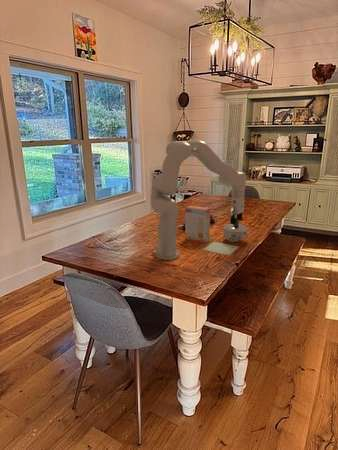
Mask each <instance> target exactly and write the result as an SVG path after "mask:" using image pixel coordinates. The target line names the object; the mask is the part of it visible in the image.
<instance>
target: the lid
mask: <svg viewBox="0 0 338 450" xmlns="http://www.w3.org/2000/svg"><path fill="white" fill-rule="evenodd" d="M223 228H224V230H226V231H229V232H234V233H241V232H248V230H249V229H248V228H249V227H248V226H247V225H245V224H241V223H240V220H239V219H238V218H237V217H236V224H230V223H228V224H224V225H223Z"/></svg>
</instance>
